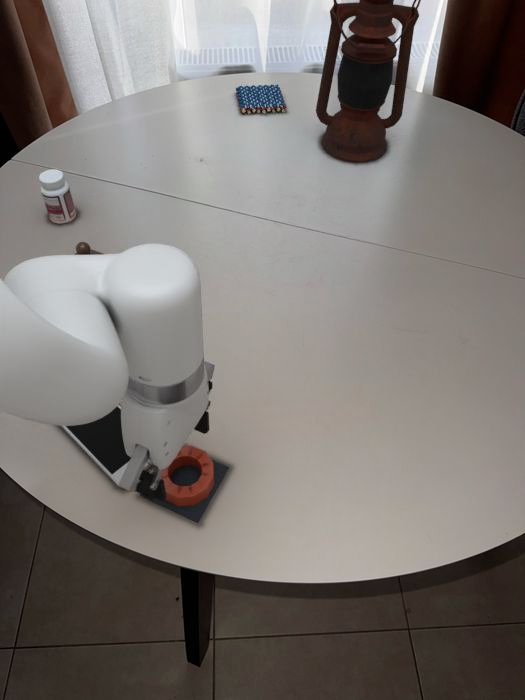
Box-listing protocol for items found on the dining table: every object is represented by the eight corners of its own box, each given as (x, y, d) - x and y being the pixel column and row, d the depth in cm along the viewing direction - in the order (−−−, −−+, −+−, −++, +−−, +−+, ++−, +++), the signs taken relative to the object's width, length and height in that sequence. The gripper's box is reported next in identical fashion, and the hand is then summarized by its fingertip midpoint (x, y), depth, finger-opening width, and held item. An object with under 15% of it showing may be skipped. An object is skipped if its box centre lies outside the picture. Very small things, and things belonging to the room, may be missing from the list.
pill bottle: (68, 204, 107) (57, 164, 100) (81, 217, 104) (70, 177, 98) (44, 214, 105) (31, 174, 98) (57, 227, 102) (44, 187, 96)
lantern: (392, 129, 126) (425, -28, 103) (397, 165, 117) (434, 2, 94) (312, 125, 127) (327, -32, 104) (312, 160, 118) (328, -3, 95)
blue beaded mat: (287, 113, 130) (287, 104, 128) (240, 115, 129) (240, 106, 127) (279, 91, 136) (280, 82, 135) (235, 93, 135) (234, 84, 134)
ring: (197, 515, 68) (195, 506, 67) (147, 492, 70) (145, 482, 68) (223, 468, 72) (223, 459, 71) (176, 447, 74) (174, 438, 72)
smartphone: (121, 490, 70) (120, 486, 70) (50, 415, 77) (48, 411, 76) (166, 453, 74) (166, 449, 73) (94, 384, 80) (93, 380, 80)
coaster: (197, 523, 68) (197, 521, 68) (139, 495, 70) (139, 494, 70) (229, 468, 73) (228, 466, 73) (173, 443, 75) (173, 442, 75)
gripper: (176, 295, 60) (185, 393, 73) (72, 420, 49) (104, 509, 62) (241, 320, 58) (238, 416, 71) (147, 455, 48) (164, 539, 61)
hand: (175, 459), depth 67 cm, fingers open, 9 cm apart
